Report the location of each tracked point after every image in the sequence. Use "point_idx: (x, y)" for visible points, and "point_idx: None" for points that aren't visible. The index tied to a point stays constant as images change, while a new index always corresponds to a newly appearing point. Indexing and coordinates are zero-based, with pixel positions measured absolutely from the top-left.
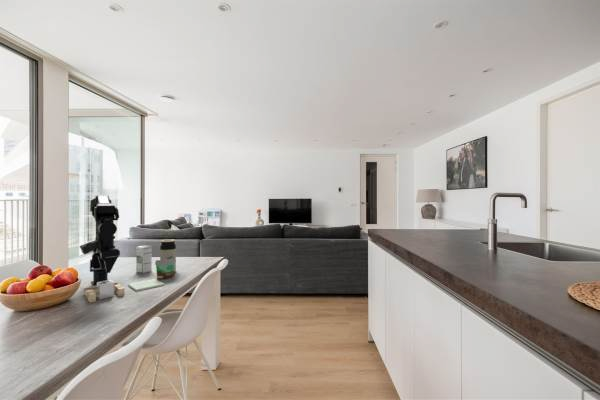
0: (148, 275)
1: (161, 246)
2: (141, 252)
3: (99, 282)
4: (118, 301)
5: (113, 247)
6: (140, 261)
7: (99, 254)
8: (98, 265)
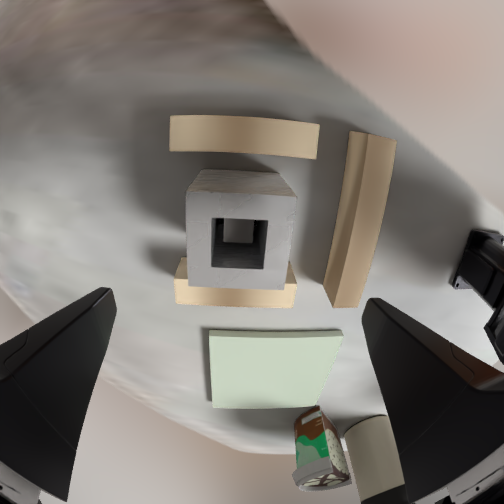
0: None
1: (398, 496)
2: None
3: (270, 209)
4: (99, 232)
5: None
6: None
7: (487, 431)
8: None
